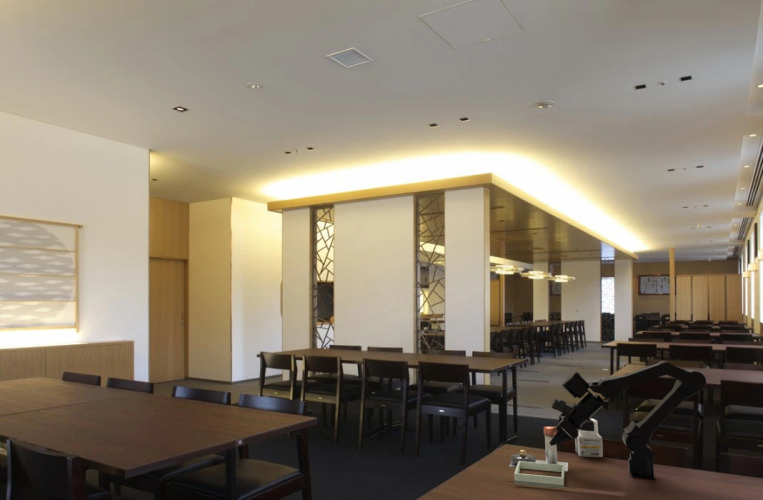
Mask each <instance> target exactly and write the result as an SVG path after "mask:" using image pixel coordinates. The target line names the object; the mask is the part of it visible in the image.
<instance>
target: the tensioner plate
mask: <svg viewBox="0 0 763 500" xmlns="http://www.w3.org/2000/svg"><path fill="white" fill-rule="evenodd" d="M518 461H524V462H536V463H546V460H540V459H537V458H536V456H535V455H532V454H528V453H527V450H526V449H520V450H519V453H513V454H511V455H510V463H509V467H512V468H513V467H514V468H516V467H517V464H518ZM557 464H559V465H564V472H568V471H569V462H563V461H557Z"/></svg>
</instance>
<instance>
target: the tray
mask: <svg viewBox="0 0 763 500" xmlns="http://www.w3.org/2000/svg"><path fill="white" fill-rule="evenodd" d="M521 469H523V470H526V469H527V470H537V471H548V472H557V473H561V476H552V475H551V476H550V475H540V474H538V475H537V474H529V473H520V471H521ZM513 474H514V476H513V477H514V485H522V486H531V487H532V486H533V487H541V488H551V489H561V490H564V489H565V471H564V465H559V464H548V463H536V462H524V461H518V464H517V467H515V471H514V473H513Z"/></svg>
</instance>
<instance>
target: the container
mask: <svg viewBox="0 0 763 500" xmlns="http://www.w3.org/2000/svg"><path fill="white" fill-rule="evenodd" d="M598 425H599V424H598V420H597V419H594V418H592V417H590V420H589V421H586V422H585V423H584V424H583V425H582V426H581V428H580V429H579V436H578V437H577V438H576V439H575V440H574V443H575V453H576V454H577V455H578V456H579V457H583V458H586V457H587V458H588V457H590V458H603V457H604V453H603V452H604V450H603V437H602V436H601V435H600V434H599V426H598Z"/></svg>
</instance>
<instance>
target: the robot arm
mask: <svg viewBox="0 0 763 500" xmlns="http://www.w3.org/2000/svg"><path fill="white" fill-rule="evenodd" d="M664 376H668V377H670V378H673V379H676V380H675V382H674V385H673V387H672V389H671V390H670V391H669V392H668V393H667V394H666V395H665V396H664V398H663V399H661V401H660V402H658V403H657V405H656V406H654V408H652V410H651V411H650V412H649V413H648V414H647V415H645V417H644V418H643V419H642V420H640V421H638V422H636V423H635V422H634V421H633V420H632V421H630V422H629V424H628V425H627V426H626V427H625V428H623V429H622V430H623V433H622V435H621V437H622V441H623V443H624V445H625V446H626V447H627V450H629V451H630V453H629V457H628V459H627V460H628V472H629V474H631V475H630V476H631V477H632V478H638V479H639V478H640V479H650V480H655V479H656V476H655V468H654V455H655V452H654V450H652V448H651V447H650V446H649V445H648V443H650V440H651V438H652V436H653V433H654V432H655V431H656V429H658V428H659V426H661V425H662V423H664V421H666V419H668V417H669V416H670V415H671V414H672V413H674V411H675V410H676V409H677V408H678V407H679V406H680V405H681V404H682V403H683V402H684V401H685V400H686V399H688V398H691V397H693V396H694V395H696V394H698V393H699V392H700V391H702V390H703V389H704V388H705V387H706V385H707V378H706V376H705V375H704V374H703V373H702V372H700V371H697V370H695V369H691V368H687V369H683V368H681V367H678V366H676V365H673V364H672V363H670V362H668V361H666V360H660V361H658V362H657V363H655V364H652V365H649V366H645V367H643V368H640V369H638V370H634V371H632V372H629V373H626V374H623V375H615V376H608V377H603V378H601V379H599V380H598V381H593V382H592V381H591V382H587V381H586V379H584V378H583V377H582V376H581V374H580V373H579V372H578V371H575V372H574V373H573V374H571V375H570V376H568V377H567V378H565V380H564V381H563V382H562V383H561V386H562V387H563V388H564V389H565V390H566V392H567V393H568V394H569V395H570V396H572V397H573V399H576V398H578V399H580V400H579V401H578V402H576V403H575V402H574V403H573V404H570V403H568V402H567V401H566V400H563V399H562V398H561V399H560V398H558V397H554V400H553V402H552V404H551V408H552V409H553V410H555V411H558V412H560V414H559V416H558V424H557V425H556V426H555V427H556V428H557V433H556V434H555V435H554V437H553V438H552V440H551V441H550V442H549V444H550V445H551V446H553V445H556V444H557V445H558V444H562V443H565V442H568V441H573V440H574V441H575V439H576V438H577V437H578V436H579V429H580V428H581V426H582V425H583V424H584V423H585V422H586V421H589V420H590V418H592V417H593V416H594V415H595V414H596V413H597V412H598V411H599V410H600V409H601V408H604V410H606V411H608V412H609V411H610V406H609V404H610V401H609V400H610V399H614V398H616V397H617V396H619V395H620V394H623V393H624V392H625V391H627V390H628V389H630V388H632V387H635V386H637V385H642V384H643V383H646V382H650V381H651V380H654V379H655V380H656V379H658V378H661V377H664ZM594 393H596V394H594ZM600 395H601V396H600ZM603 398H605V399H609V400H605V399H603Z"/></svg>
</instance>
